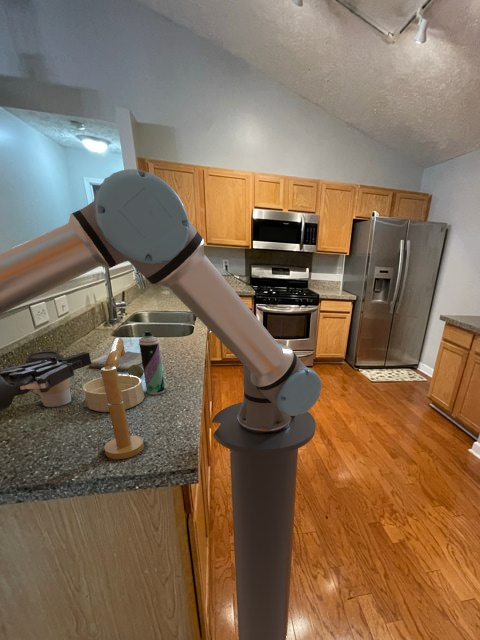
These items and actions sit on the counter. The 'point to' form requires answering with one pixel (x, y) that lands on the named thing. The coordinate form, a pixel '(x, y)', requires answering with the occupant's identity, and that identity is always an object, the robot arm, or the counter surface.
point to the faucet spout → (113, 372)
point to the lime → (136, 371)
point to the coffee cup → (57, 393)
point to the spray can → (151, 364)
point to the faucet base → (122, 435)
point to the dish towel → (123, 363)
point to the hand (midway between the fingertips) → (87, 358)
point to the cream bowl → (128, 387)
